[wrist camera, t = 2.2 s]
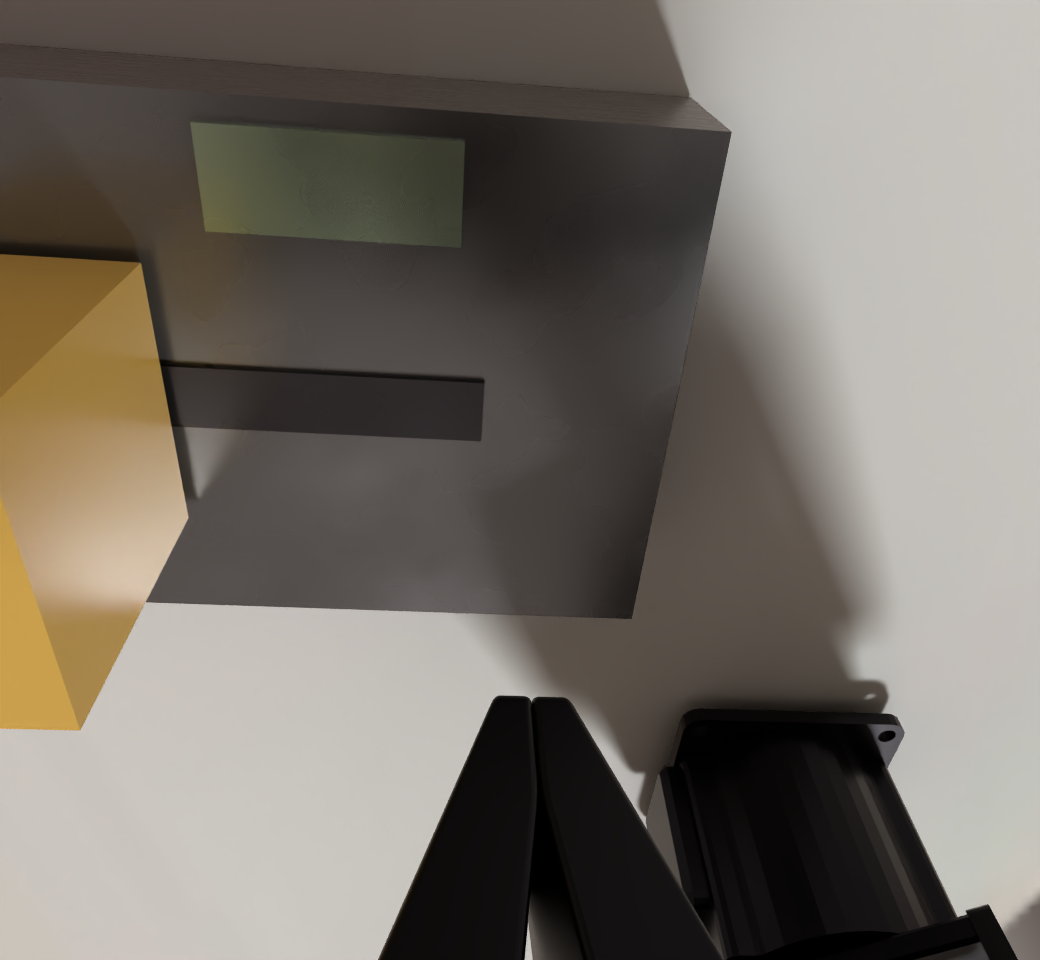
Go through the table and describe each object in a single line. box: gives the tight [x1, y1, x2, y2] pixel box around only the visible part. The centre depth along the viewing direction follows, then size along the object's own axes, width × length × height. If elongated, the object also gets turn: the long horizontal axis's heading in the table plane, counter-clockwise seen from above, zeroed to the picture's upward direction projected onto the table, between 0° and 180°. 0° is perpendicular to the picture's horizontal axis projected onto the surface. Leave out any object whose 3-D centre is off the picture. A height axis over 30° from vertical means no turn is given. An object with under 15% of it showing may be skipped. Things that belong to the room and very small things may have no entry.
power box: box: [0, 44, 731, 619], centre depth 16 cm, size 22×10×3 cm, turn 86°
